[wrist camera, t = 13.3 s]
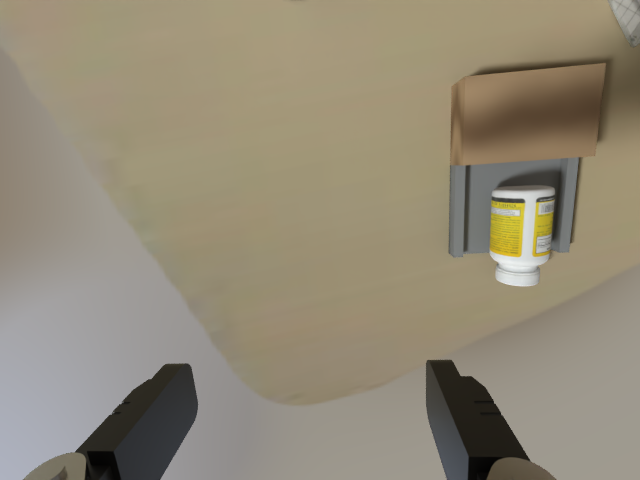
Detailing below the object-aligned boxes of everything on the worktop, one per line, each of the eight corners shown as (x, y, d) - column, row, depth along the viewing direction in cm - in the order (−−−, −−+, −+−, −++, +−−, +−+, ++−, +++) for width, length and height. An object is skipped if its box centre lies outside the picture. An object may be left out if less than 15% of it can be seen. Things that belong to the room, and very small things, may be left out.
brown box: (451, 86, 34) (465, 76, 30) (575, 74, 33) (605, 62, 29) (450, 165, 36) (463, 165, 32) (567, 156, 34) (595, 156, 31)
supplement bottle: (486, 186, 36) (482, 271, 38) (500, 190, 30) (495, 289, 33) (541, 183, 34) (534, 271, 36) (567, 187, 29) (557, 290, 31)
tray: (450, 165, 36) (455, 165, 34) (567, 156, 34) (579, 156, 33) (448, 253, 38) (453, 257, 36) (558, 247, 37) (568, 252, 35)
